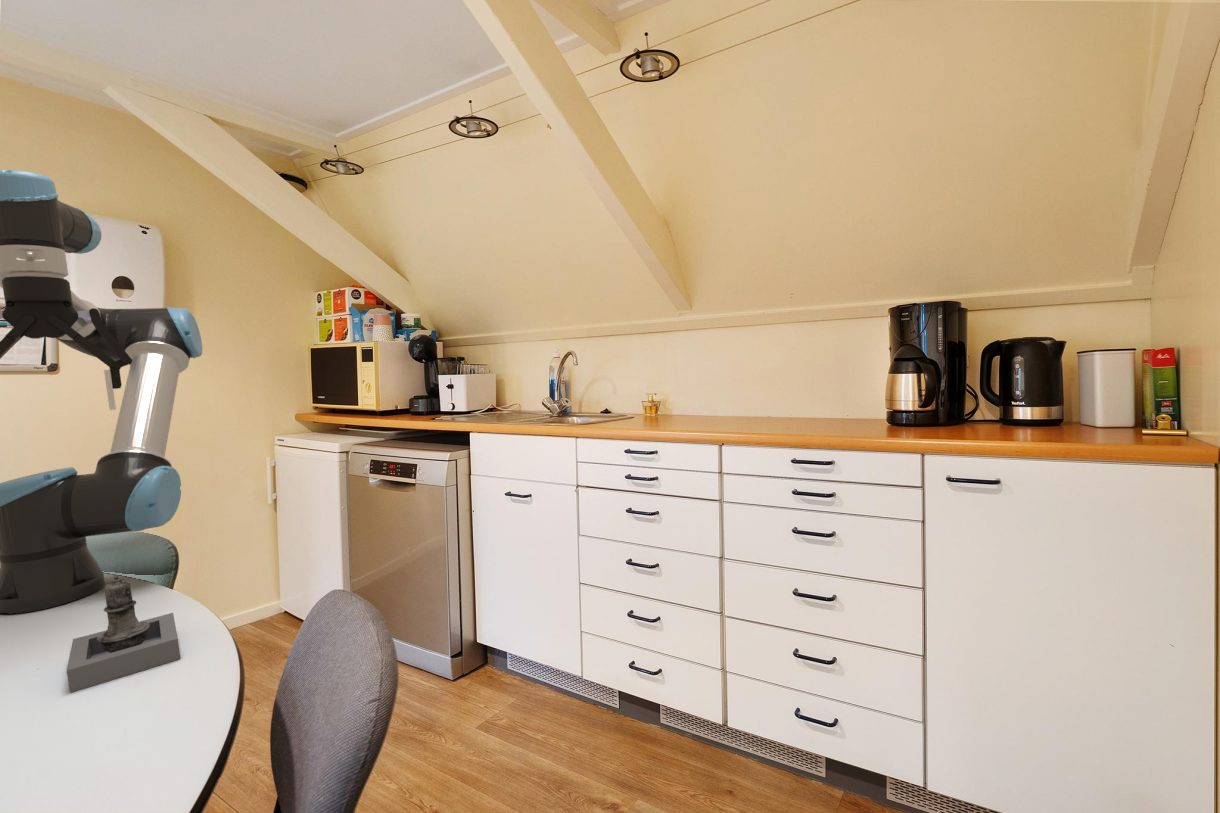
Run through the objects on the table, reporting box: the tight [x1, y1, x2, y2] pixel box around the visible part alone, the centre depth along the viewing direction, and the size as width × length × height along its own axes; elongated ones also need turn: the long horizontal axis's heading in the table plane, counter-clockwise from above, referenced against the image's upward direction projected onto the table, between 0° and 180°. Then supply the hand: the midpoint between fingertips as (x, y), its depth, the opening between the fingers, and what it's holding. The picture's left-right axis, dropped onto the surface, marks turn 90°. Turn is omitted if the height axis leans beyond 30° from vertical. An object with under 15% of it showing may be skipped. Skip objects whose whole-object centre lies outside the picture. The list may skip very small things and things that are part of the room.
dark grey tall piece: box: [97, 573, 150, 653], centre depth 83 cm, size 6×6×12 cm
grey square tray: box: [66, 612, 181, 693], centre depth 84 cm, size 12×12×3 cm
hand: (56, 414), depth 93 cm, fingers open, 13 cm apart
